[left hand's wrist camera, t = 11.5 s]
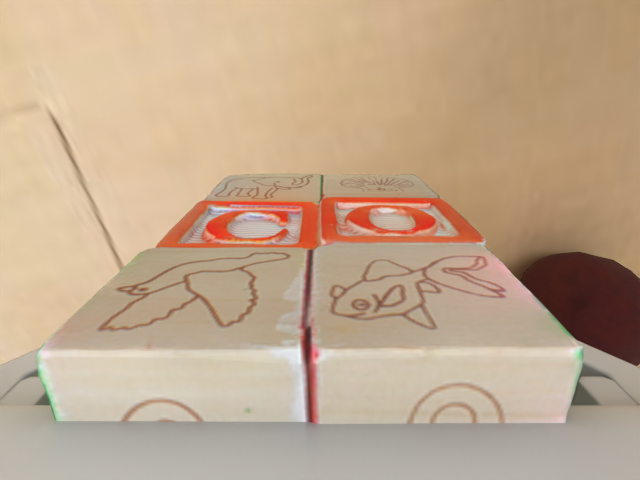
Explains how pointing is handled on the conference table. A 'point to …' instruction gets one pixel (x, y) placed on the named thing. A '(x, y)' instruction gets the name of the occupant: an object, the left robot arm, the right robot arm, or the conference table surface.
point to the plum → (591, 300)
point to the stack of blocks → (314, 317)
